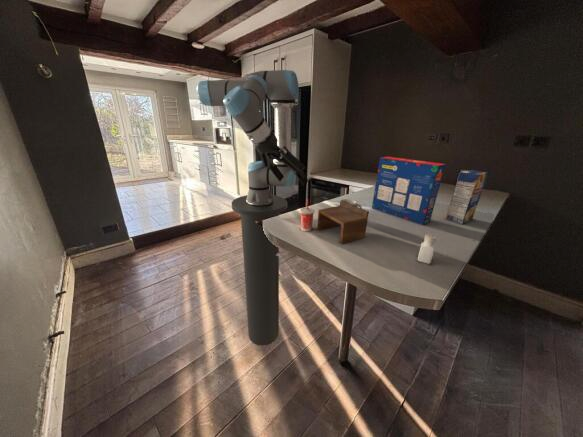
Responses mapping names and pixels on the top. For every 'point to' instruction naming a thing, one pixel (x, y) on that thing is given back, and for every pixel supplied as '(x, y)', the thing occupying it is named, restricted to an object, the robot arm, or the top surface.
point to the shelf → (345, 220)
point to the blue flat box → (407, 188)
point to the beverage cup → (306, 218)
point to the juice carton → (466, 196)
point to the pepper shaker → (427, 249)
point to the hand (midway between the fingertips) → (293, 181)
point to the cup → (351, 202)
